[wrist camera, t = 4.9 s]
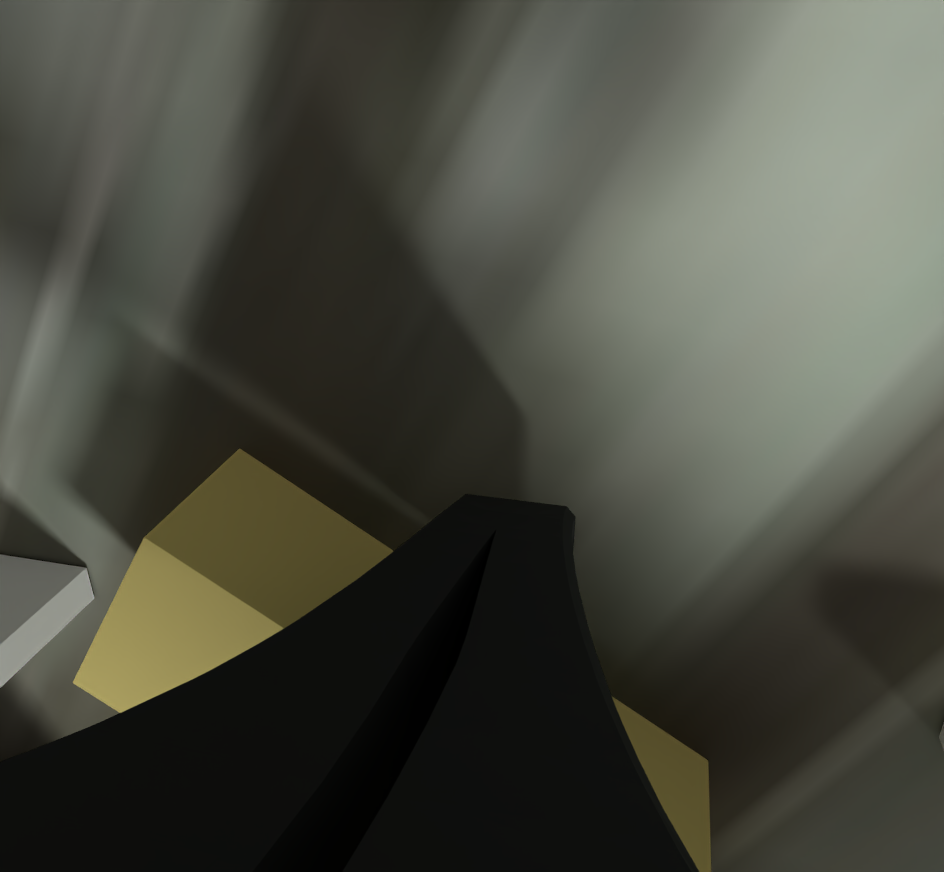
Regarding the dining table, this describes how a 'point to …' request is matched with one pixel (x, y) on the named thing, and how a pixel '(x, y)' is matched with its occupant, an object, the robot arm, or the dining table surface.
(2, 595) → the grey flat pieces
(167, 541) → the khaki rectangular brick
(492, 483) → the dining table surface
